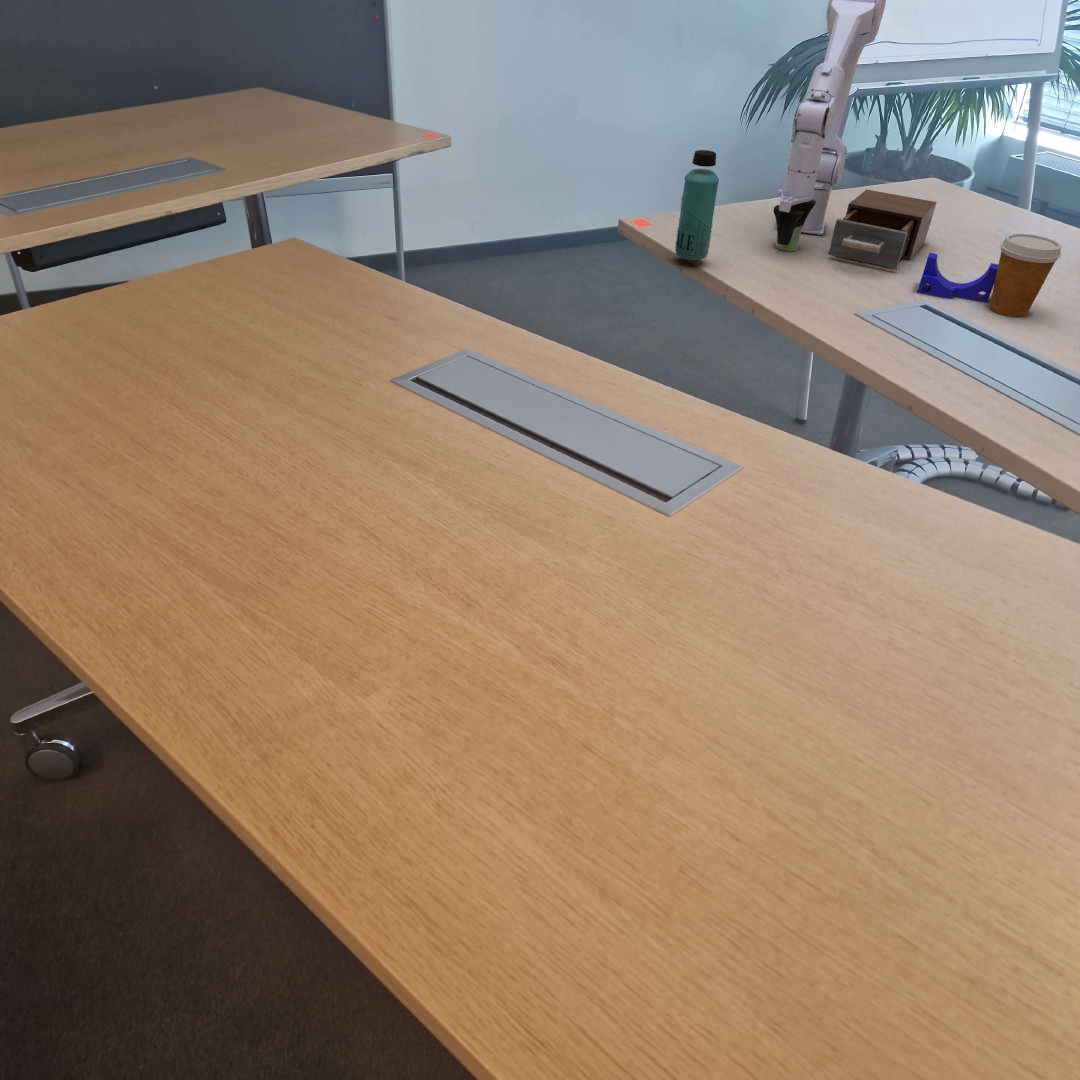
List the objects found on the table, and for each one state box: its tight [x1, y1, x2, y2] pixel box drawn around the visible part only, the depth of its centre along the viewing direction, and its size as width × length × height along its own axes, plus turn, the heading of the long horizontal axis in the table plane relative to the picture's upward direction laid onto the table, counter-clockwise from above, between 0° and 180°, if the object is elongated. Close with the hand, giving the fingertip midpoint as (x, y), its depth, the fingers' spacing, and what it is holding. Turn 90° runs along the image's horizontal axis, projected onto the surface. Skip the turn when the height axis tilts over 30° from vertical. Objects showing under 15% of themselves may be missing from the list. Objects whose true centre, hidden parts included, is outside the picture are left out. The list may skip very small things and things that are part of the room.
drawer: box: [828, 208, 917, 270], centre depth 171 cm, size 17×13×7 cm
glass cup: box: [775, 223, 802, 252], centre depth 177 cm, size 4×4×5 cm
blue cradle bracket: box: [916, 252, 999, 303], centre depth 159 cm, size 12×4×6 cm, turn 65°
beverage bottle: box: [674, 149, 720, 261], centre depth 163 cm, size 6×7×20 cm
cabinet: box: [845, 189, 937, 261], centre depth 180 cm, size 13×14×8 cm
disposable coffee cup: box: [988, 233, 1062, 317], centre depth 152 cm, size 10×10×12 cm
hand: (787, 240), depth 177 cm, fingers open, 5 cm apart
